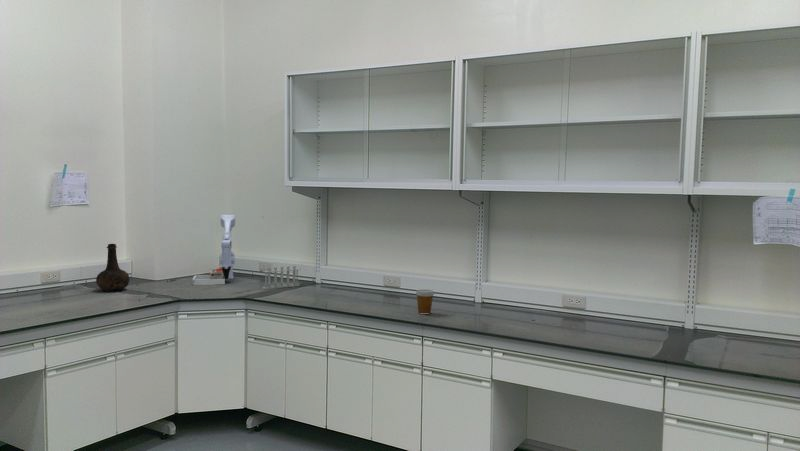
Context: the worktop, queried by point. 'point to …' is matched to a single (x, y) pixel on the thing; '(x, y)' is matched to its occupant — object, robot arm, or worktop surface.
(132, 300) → the worktop surface
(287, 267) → the test tube rack
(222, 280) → the bin
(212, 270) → the medicine box
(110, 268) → the glass bottle
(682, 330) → the worktop surface
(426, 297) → the disposable coffee cup
